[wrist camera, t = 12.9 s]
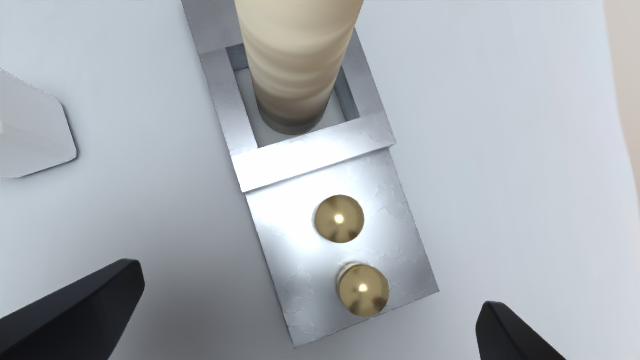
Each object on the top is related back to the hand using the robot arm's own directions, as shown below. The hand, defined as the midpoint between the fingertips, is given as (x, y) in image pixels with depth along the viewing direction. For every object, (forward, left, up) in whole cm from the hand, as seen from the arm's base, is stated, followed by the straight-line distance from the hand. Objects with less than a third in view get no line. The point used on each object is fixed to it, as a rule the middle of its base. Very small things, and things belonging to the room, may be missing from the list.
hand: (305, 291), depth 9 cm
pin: (+3, +9, -12) cm, 16 cm away
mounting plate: (+3, +6, -12) cm, 14 cm away
